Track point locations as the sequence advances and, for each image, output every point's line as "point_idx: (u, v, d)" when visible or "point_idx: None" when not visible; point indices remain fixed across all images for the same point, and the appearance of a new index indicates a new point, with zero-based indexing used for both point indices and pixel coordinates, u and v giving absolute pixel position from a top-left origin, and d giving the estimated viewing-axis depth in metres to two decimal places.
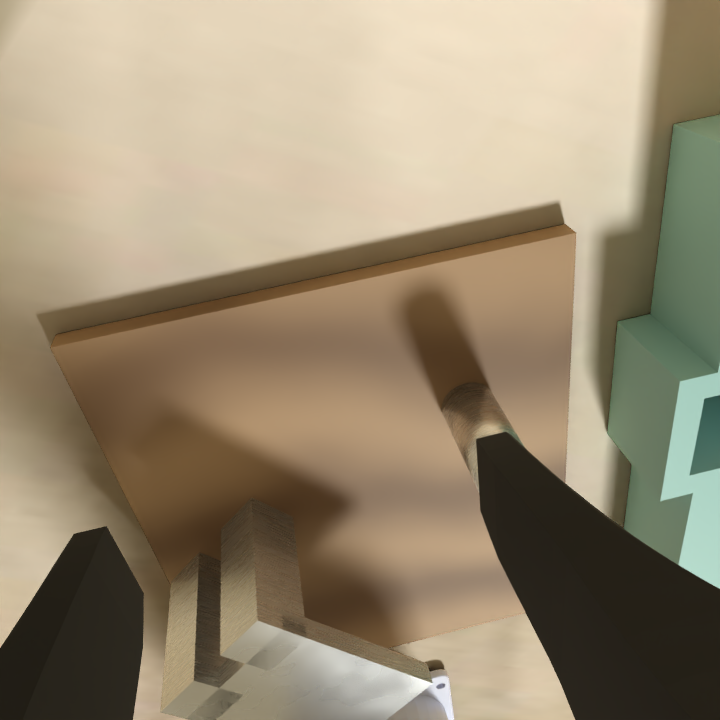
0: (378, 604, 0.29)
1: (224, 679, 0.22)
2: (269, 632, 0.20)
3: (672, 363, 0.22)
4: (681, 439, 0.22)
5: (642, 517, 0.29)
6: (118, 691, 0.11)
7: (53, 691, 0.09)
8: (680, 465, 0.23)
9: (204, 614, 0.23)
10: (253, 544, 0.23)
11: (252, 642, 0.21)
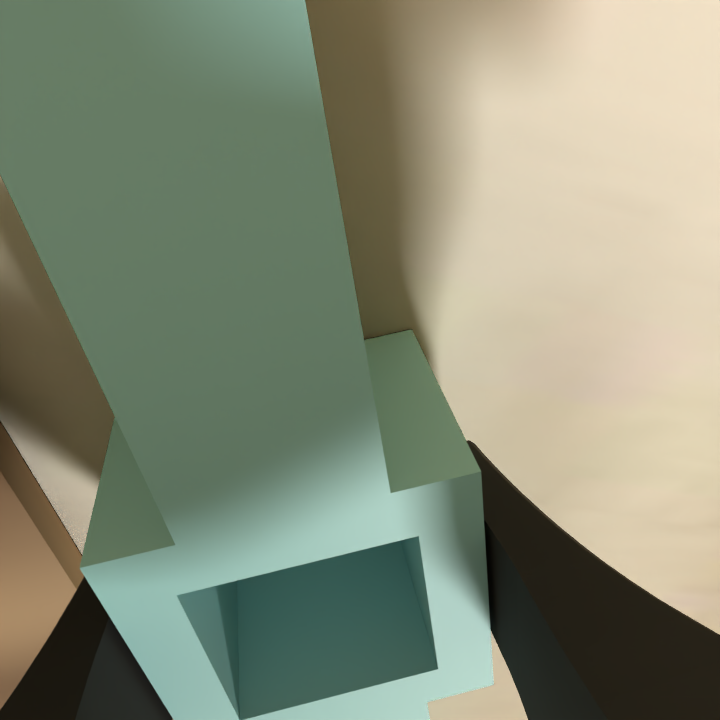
0: None
1: None
2: None
3: (113, 510, 0.09)
4: (171, 667, 0.10)
5: None
6: None
7: (104, 678, 0.09)
8: (204, 707, 0.11)
9: None
10: None
11: None
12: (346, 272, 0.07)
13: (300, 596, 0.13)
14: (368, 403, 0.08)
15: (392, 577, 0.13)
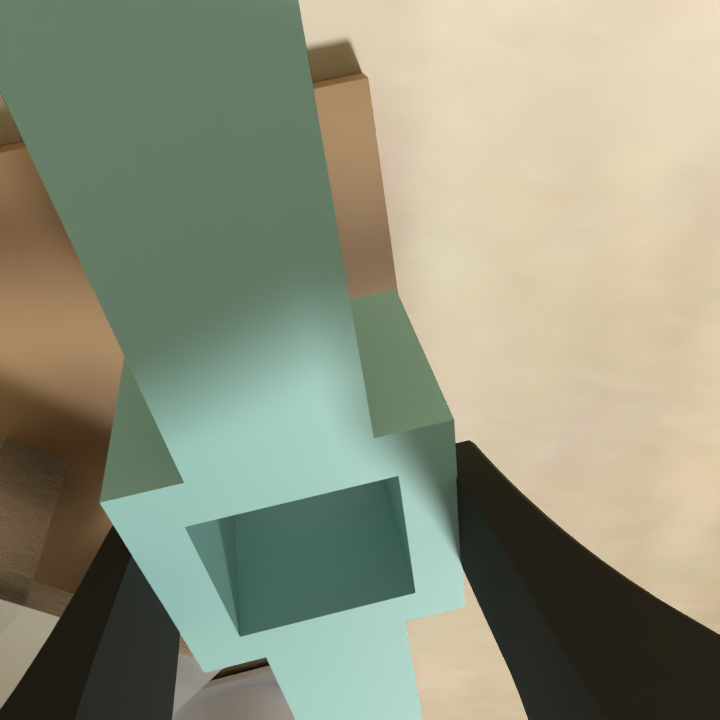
0: None
1: None
2: None
3: (126, 453, 0.11)
4: (180, 590, 0.11)
5: None
6: (159, 681, 0.11)
7: (104, 678, 0.09)
8: (208, 625, 0.12)
9: None
10: None
11: None
12: (335, 245, 0.08)
13: (292, 531, 0.14)
14: (354, 359, 0.09)
15: (376, 514, 0.15)
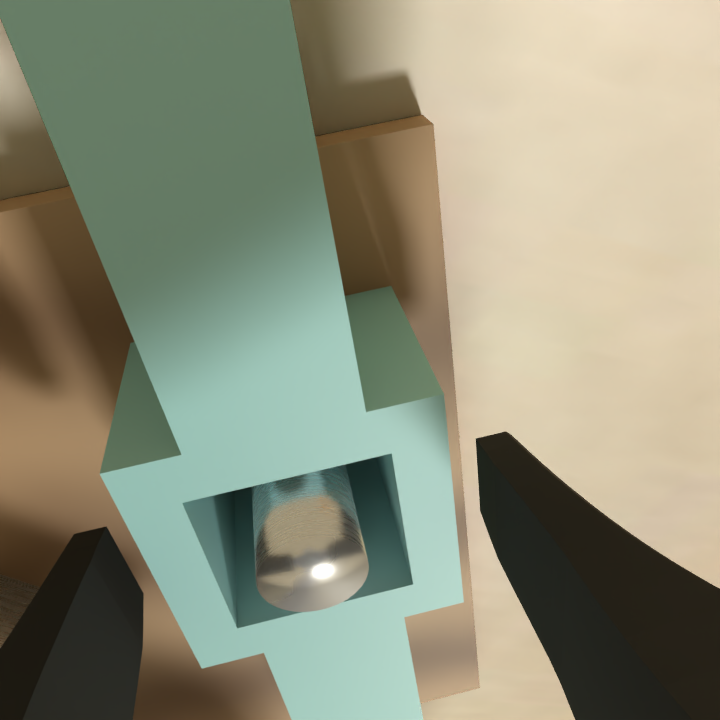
0: (211, 698, 0.21)
1: None
2: None
3: (127, 431, 0.11)
4: (178, 573, 0.12)
5: None
6: (118, 691, 0.11)
7: (53, 691, 0.09)
8: (206, 614, 0.12)
9: None
10: None
11: None
12: (324, 211, 0.08)
13: None
14: (345, 328, 0.09)
15: (375, 511, 0.15)
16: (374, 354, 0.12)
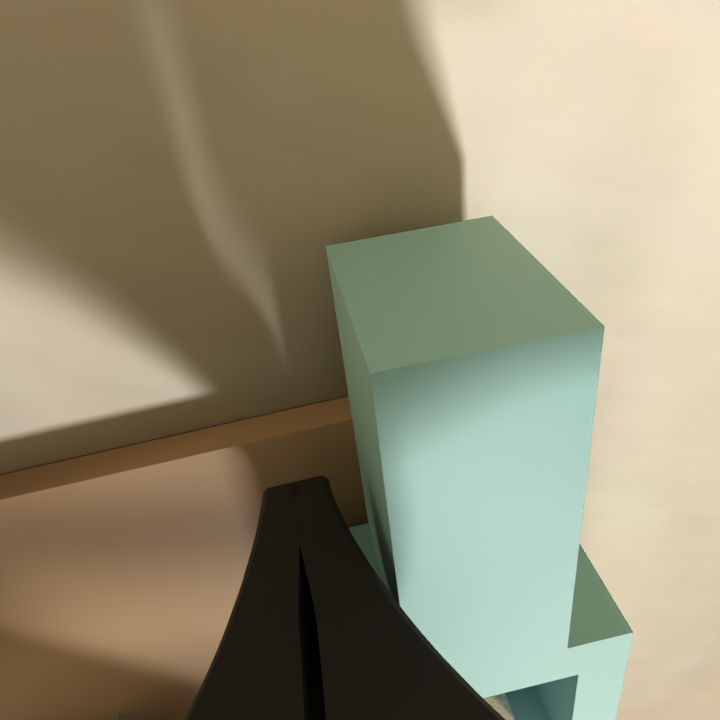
0: None
1: None
2: None
3: None
4: None
5: None
6: None
7: (303, 628, 0.09)
8: None
9: None
10: None
11: None
12: (578, 523, 0.10)
13: None
14: (569, 595, 0.11)
15: None
16: None
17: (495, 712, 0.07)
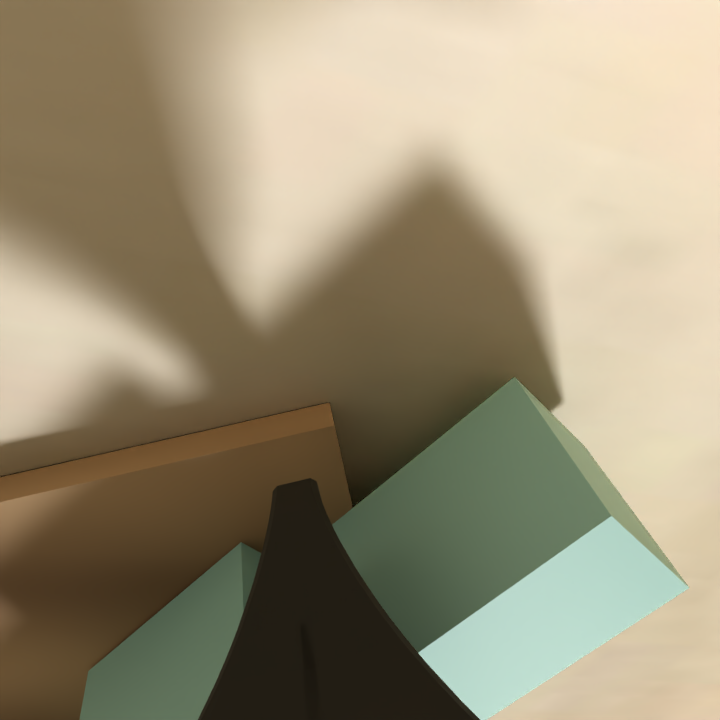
0: None
1: None
2: None
3: None
4: None
5: None
6: None
7: None
8: None
9: None
10: None
11: None
12: (532, 689, 0.12)
13: None
14: None
15: None
16: None
17: (475, 717, 0.07)
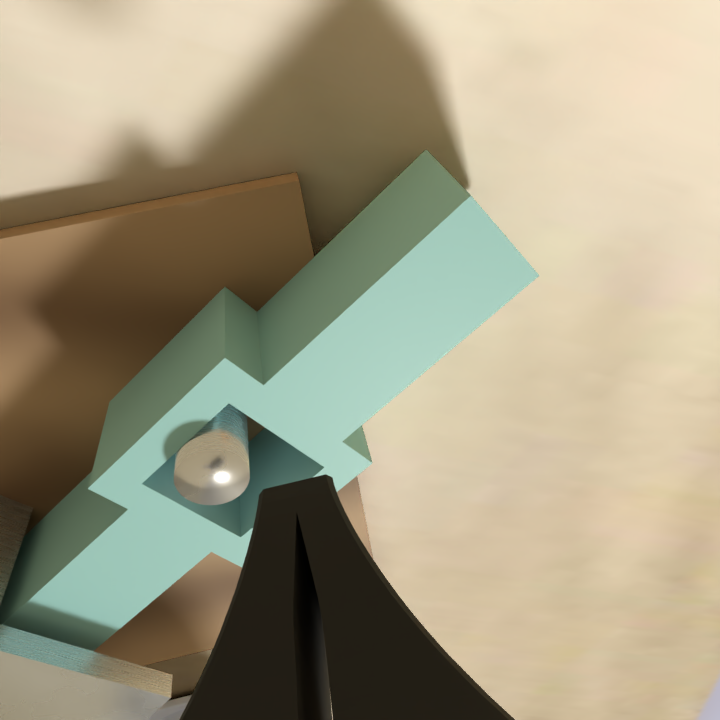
0: (165, 606, 0.27)
1: None
2: None
3: (234, 345, 0.17)
4: (170, 430, 0.17)
5: (57, 524, 0.21)
6: (320, 640, 0.11)
7: (299, 629, 0.09)
8: (143, 462, 0.17)
9: None
10: None
11: None
12: (432, 363, 0.17)
13: None
14: (382, 404, 0.18)
15: None
16: None
17: (502, 711, 0.07)
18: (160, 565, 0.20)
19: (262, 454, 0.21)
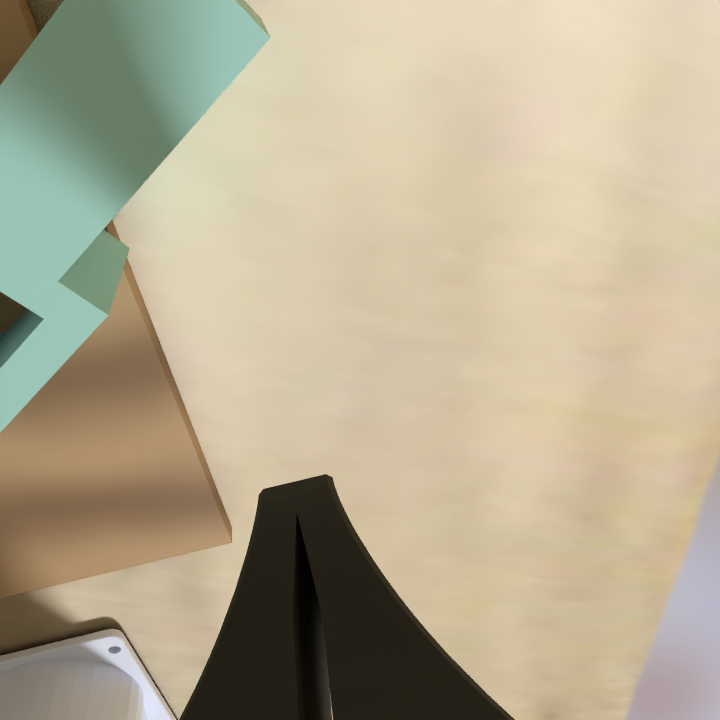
0: None
1: None
2: None
3: None
4: None
5: None
6: (319, 640, 0.11)
7: (298, 629, 0.09)
8: None
9: None
10: None
11: None
12: (152, 168, 0.13)
13: None
14: (99, 228, 0.14)
15: None
16: (88, 265, 0.16)
17: (502, 710, 0.07)
18: None
19: (15, 328, 0.18)
